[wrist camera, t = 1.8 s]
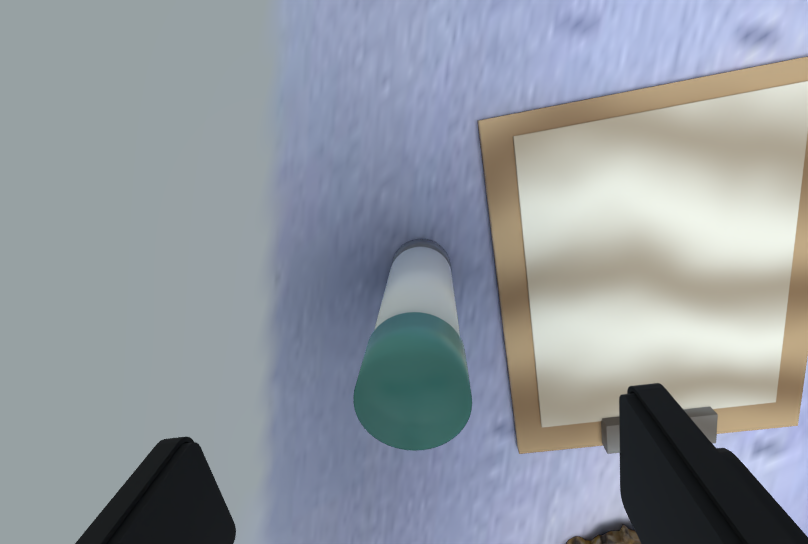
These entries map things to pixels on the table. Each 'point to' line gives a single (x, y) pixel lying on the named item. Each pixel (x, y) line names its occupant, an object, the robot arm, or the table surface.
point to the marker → (415, 356)
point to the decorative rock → (610, 538)
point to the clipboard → (654, 254)
